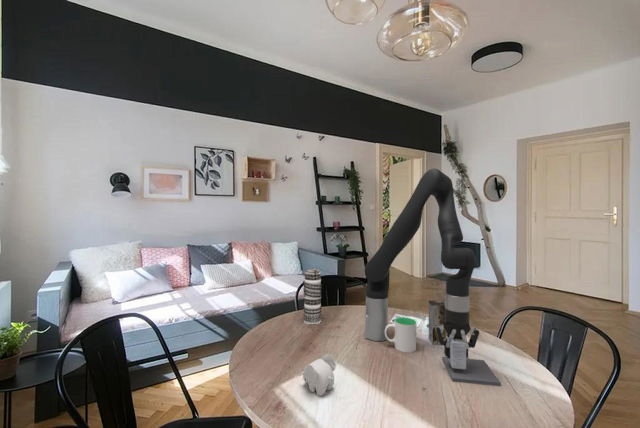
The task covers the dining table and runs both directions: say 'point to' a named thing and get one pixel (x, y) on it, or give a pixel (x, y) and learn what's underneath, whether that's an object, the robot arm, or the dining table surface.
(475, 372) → the rubber mat
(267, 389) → the dining table surface
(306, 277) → the decorative candle
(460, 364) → the medicine box
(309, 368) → the elephant figurine
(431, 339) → the coffee box
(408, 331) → the mug
